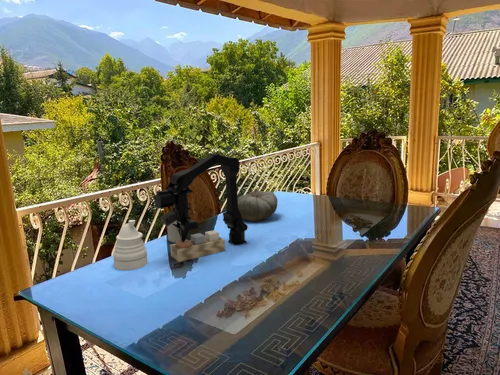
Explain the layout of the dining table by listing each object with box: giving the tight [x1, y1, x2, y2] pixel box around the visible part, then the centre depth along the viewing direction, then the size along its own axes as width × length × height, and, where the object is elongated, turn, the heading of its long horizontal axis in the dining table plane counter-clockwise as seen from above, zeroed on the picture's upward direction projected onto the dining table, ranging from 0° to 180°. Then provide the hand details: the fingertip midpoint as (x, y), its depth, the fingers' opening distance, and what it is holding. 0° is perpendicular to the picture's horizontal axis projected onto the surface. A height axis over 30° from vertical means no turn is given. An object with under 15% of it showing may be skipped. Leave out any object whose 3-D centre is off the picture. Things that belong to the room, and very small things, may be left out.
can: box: [166, 222, 181, 244], centre depth 178 cm, size 8×8×12 cm
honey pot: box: [112, 219, 149, 271], centre depth 151 cm, size 13×13×18 cm
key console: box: [169, 236, 226, 263], centre depth 162 cm, size 22×8×5 cm, turn 124°
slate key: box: [190, 232, 205, 245], centre depth 161 cm, size 4×4×5 cm
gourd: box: [237, 188, 279, 222], centre depth 213 cm, size 25×25×17 cm
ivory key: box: [204, 229, 220, 242], centre depth 165 cm, size 4×4×5 cm
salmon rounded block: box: [175, 238, 190, 249], centre depth 158 cm, size 4×4×5 cm
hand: (183, 241), depth 157 cm, fingers closed, pressing on salmon rounded block
